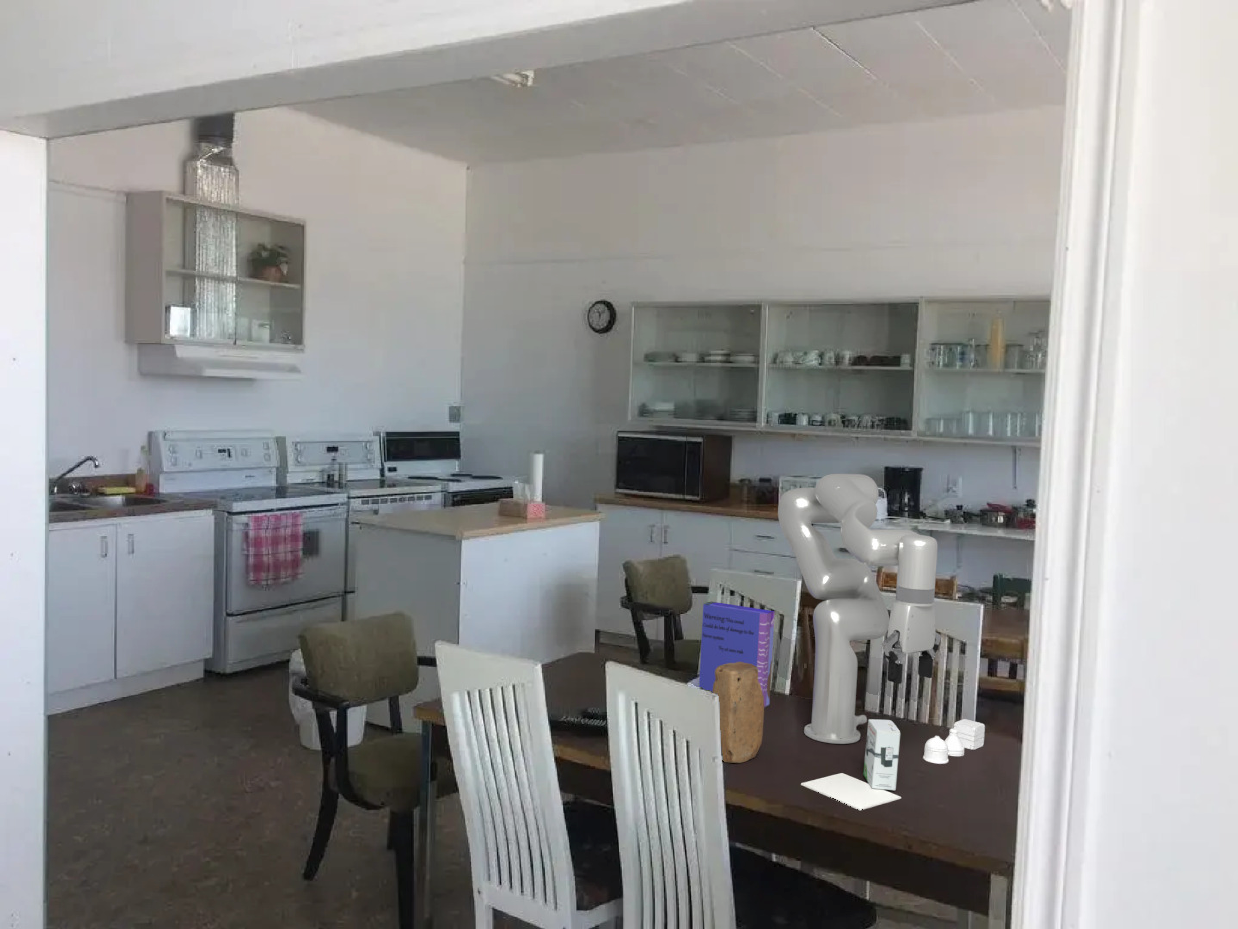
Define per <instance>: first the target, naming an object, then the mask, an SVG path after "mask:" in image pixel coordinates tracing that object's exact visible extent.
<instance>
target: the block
mask: <svg viewBox="0 0 1238 929" xmlns="http://www.w3.org/2000/svg"><path fill="white" fill-rule="evenodd" d="M712 693H717V694H718V696H719V702H720V730H721V746H722V754H723V761H724V763H730V764H731V763H732V764H733V763H735V764H741V763H745V762H748V761H749V760H752V759H753V758H756V756H757V754H758V753H759V752H758V751H759V749H760V747H761V746H762V742H763V735H764V734H763V733H764V718H765V717H764V716H765V708H764V696H763V694H762V690H761V686H760V683H759V682H758V668H757V667H756V666H754V665H753V664H749V663H744V662H736V663H727V664H723V665H720V666H718V667H717V668H716V670H715V681H714V684H713V691H712ZM723 761H722V762H723Z"/></svg>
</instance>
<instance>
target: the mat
mask: <svg viewBox="0 0 1238 929" xmlns="http://www.w3.org/2000/svg"><path fill="white" fill-rule="evenodd" d="M800 786H803V787H805V788H807V789H809V790H811V791H815V792H817V793H818V792H819V794H821V795H823V796H826V797H828V798H830V797H831V798H830V799H832V798H834V799H836V800H835V801H837V800H838V801H837V802H839V801H840V802H839V803H842V804H844V803H845V804H844V805H846V804H847V805H846V806H848V807H850V806H851V808H853V809H856V810H857V809H858V811H863V810H866V809H867V810H868V809H871V808H873V807H877V806H880V805H883V804H888V803H891V802H893V801H894V802H895V801H897V800H900V799H902V797H901V796H899V795H898V794H894V793H893V792H890V791H889V790H885V789H874V788H871V786H870V784H869V783H868V782H865V781H862V780H860V779H858V778H856V777H853V776H852V775H851V776H850V775H848V774H845V773H843V772H841V773H837V774H832V775H828V776H825V777H821V778H816V779H814V780H813V779H812V780H809V781H804V782H801V783H800ZM834 799H833V800H834ZM862 809H863V810H862Z"/></svg>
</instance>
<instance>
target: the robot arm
mask: <svg viewBox="0 0 1238 929" xmlns="http://www.w3.org/2000/svg"><path fill="white" fill-rule="evenodd" d="M878 501H879V488H878V485H877V483H876V481H875V480H874V479H873V478H871V476H868V475H866V474H860V473H859V474H858V473H830V474H827V475H824V476H822V477H821V478H820V479H819V480H818V481H817V483H816V485H815V487H797V488H793V489H789V490H787V491H786V492H784V493H783V494H782V495H781V497H780V499H779V501H778V508H777V516H778V521H779V523H778V524H779V526H780V529H781V532H782V534H783V536H784V537H785V539H786V541H787V542H788V544H789V546H790V548H791V550H792V551H793V554H794V556H795V558H796V562H797V564H798V566H799V569H800V572H801V575H802V578H803V581H804V583H805V586H806V588H807V591H808V592H809V594H810V595H811V596H812V597H813V598H814V599H816V600H817V599H818V600H822V601H821V602H819V603H818V604H817V605H816V607H815V608H814V610H813V613H812V614H813V615H812V617H813V618H812V622H813V624H812V625H813V629H814V630H813V631H814V637H815V638H814V640H815V655H814V656H815V658H814V680H813V691H812V710H811V711H812V712H811V723H809V724H807V725H805V726H804V730H803V733H804V734H805V736H807V737H808V738H810V739H812V740H814V741H818V742H821V743H827V744H835V745H836V744H837V745H846V744H854V743H857V742H858V741H859V740H860V739H861V732H860V731H859V730H858V729H857V727H858V726H859V725H864V724H865V723H867V722H868V719H867V715H865V714H861V715H855V713H856V698H857V696H856V695H857V680H858V664H859V663H858V657H857V655H856V652H855V651H854V649H853V648H852V646H851V643H850V642H853V641H868V640H878V639H881V638H882V637H884V636H885V635H886V634H887V635H886V636H887V637H886V638H885V640H883V641H882V644H881V645H882V649H883V654H884V656H885V659H886V662H888V663H887V664H888V665H887V676H886V677H887V678H886V680H887V681H888V682H891V683H895V684H899V685H900V684H902V683H903V670H904V669H903V668H904V664H903V663H902V661H903V659H904V657H905V655H906V654H914V653H920V655H919V656H918V663H917V664H918V665H917V667H918V668H917V674H918V676H921V677H924V678H926V679H932V678H933V672H934V671H933V668H934V659H935V658H936V653H937V651H938V650H939V645H940V642H941V640H942V635H941V634H939V633H938V632H936V608H935V592H936V591H935V590H936V575H937V574H936V573H937V562H938V541H937V539H936V538H934V537H932V536H929V535H923V534H919V533H917V532H915V531H913V530H909V529H870V528H871V527H872V526H873V524H874V523H875V521H876V520H877V517H878V507H877V505H876V504H877V502H878ZM812 524H840V537H841V540H842V544H843V546H844V548H845V549H846V550H847V552H849V554H850V555H851V556H852V557H854V558H839V557H837V556H836V555H835V554H834V552H833V550H832V548H831V544H830V543H829V540H828V539H827V538H826V537H825V535H824V534H822V532H821V531H819V529H817V528H816V527H814V526H813V525H812ZM871 566H872V567H877V566H881V567H883V566H885V567H886V566H890V567H891V566H893V567H894V566H895V567H897V573H896V574H897V575H896V586H895V587H896V589H895V590H896V591H895V601H893V604H892V606H891V611H890V616H889V611H888V607H887V605H886V602H885V600H884V598H883V595H882V594H881V593H882V592H881V590H880V588H879V586H878V583H877V581H876V579H875V576H874V574H873V572H872V570H871V568H870V567H871ZM896 653H898V654H896Z"/></svg>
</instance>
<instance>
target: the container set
mask: <svg viewBox="0 0 1238 929" xmlns="http://www.w3.org/2000/svg"><path fill="white" fill-rule="evenodd" d="M985 729H986V726H985V724H984V723H982V722H978V721H973V720H971V719H967V718H963V719H960V720H958V721H956V722H955V721H954V724H953V728H950V729H949V735H947V737H946V738H945V740H944V739H942V738H941V737H940V736H939V735H935V736H934V737H931V738H929V739H928V740H926V743H925V744H924V751H923V752H924V754H923V756H922V759H923V760H925V761H926V762H928V763H933V764H936V765H937V764H939V765H941V764H947V763H949V756H951V757H963V756H965V749H968V750H973V751H974V750H977V749H979V748H982V747H984V744H985V731H986V730H985Z"/></svg>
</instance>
